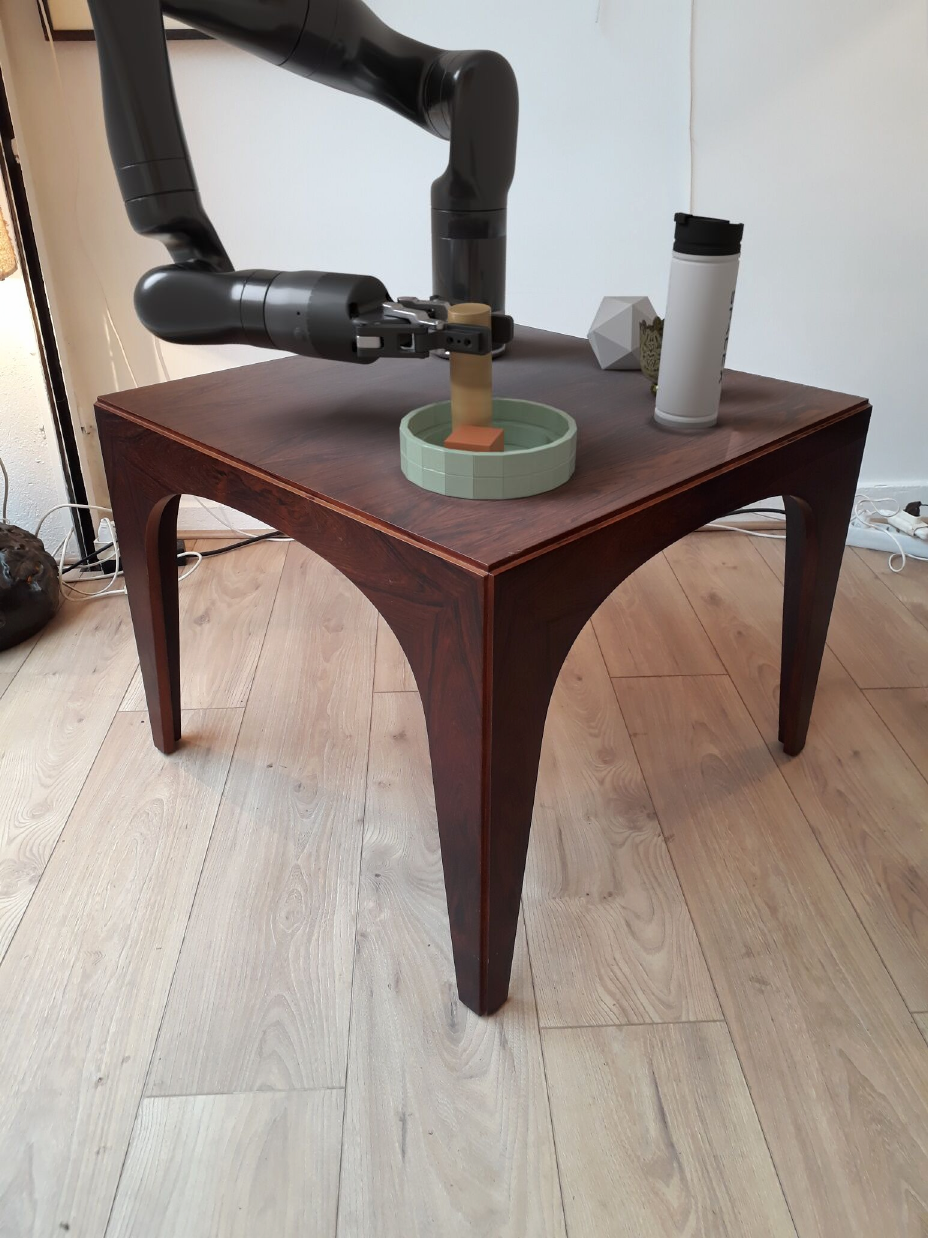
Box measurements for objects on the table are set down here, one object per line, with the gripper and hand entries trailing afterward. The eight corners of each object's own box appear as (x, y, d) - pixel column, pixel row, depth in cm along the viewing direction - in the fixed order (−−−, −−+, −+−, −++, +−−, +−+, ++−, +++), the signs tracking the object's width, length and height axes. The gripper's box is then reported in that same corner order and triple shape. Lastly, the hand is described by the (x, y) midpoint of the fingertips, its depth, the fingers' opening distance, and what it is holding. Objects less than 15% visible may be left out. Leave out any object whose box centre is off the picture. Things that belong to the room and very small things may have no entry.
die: (640, 386, 107) (687, 310, 106) (576, 344, 106) (622, 268, 105) (626, 391, 116) (670, 321, 114) (567, 353, 115) (610, 282, 113)
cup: (667, 410, 97) (676, 334, 93) (618, 394, 102) (625, 321, 98) (714, 398, 101) (724, 324, 97) (664, 382, 106) (672, 312, 102)
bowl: (437, 435, 90) (436, 390, 88) (589, 453, 86) (593, 406, 84) (374, 492, 78) (371, 442, 75) (549, 516, 73) (552, 464, 71)
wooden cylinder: (459, 436, 83) (455, 301, 77) (497, 439, 82) (496, 303, 76) (447, 451, 80) (441, 312, 74) (486, 454, 79) (483, 314, 73)
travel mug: (639, 418, 95) (660, 209, 84) (693, 411, 97) (720, 206, 86) (671, 437, 90) (697, 217, 79) (728, 429, 92) (760, 214, 81)
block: (461, 467, 81) (460, 424, 79) (504, 472, 80) (504, 428, 78) (446, 485, 78) (444, 440, 75) (490, 490, 76) (489, 445, 74)
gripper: (274, 287, 74) (460, 305, 67) (368, 259, 85) (537, 272, 78) (285, 378, 78) (461, 404, 71) (374, 340, 89) (535, 360, 82)
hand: (500, 335), depth 75 cm, fingers closed on wooden cylinder, 3 cm apart
